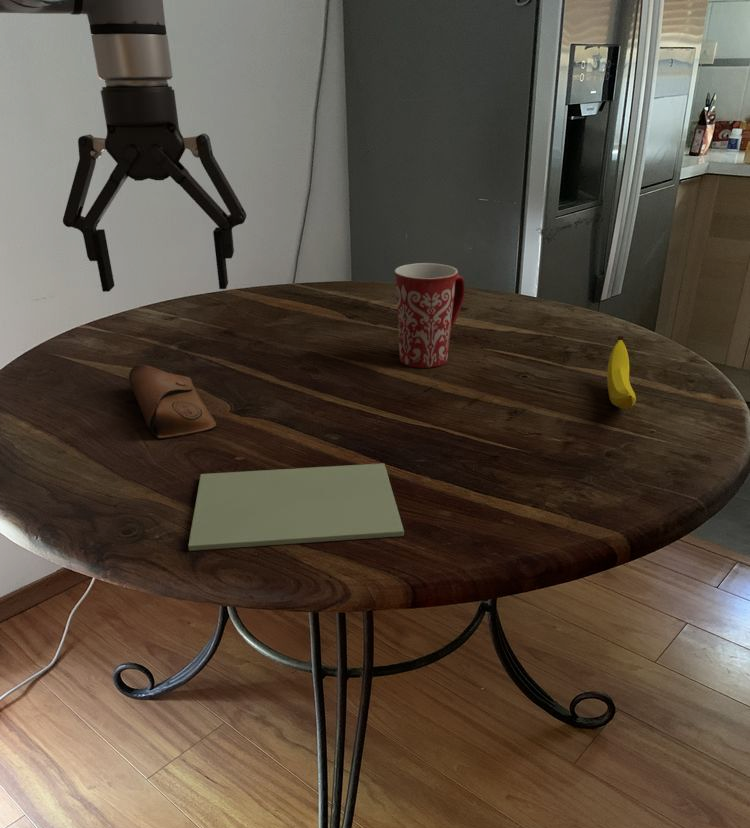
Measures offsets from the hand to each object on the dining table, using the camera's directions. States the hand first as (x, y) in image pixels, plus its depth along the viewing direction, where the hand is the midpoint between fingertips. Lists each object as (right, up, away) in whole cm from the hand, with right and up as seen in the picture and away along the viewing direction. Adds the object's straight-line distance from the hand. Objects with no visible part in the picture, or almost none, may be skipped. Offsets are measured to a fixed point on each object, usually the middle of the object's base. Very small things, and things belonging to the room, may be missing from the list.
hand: (166, 287), depth 88 cm
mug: (+34, -4, +25) cm, 42 cm away
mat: (+17, -26, -13) cm, 34 cm away
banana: (+57, -13, +9) cm, 59 cm away
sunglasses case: (-2, -14, +8) cm, 16 cm away
